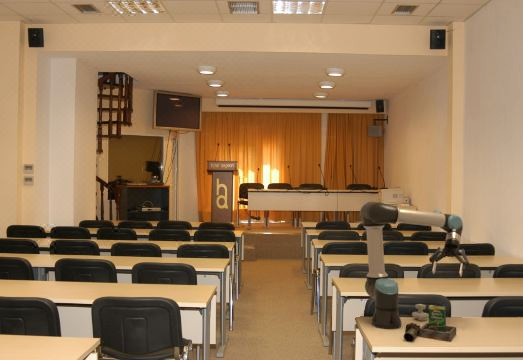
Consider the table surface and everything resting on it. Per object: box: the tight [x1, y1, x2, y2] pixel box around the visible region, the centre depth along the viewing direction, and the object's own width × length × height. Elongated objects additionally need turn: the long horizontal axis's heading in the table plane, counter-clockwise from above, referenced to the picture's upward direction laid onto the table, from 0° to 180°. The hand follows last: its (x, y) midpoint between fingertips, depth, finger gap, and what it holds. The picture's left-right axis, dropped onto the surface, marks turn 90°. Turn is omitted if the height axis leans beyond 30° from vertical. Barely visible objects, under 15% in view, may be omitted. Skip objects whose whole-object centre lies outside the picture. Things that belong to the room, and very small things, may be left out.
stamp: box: [411, 303, 429, 321], centre depth 274 cm, size 9×7×8 cm
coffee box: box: [428, 304, 447, 332], centre depth 244 cm, size 8×3×13 cm, turn 59°
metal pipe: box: [403, 322, 421, 343], centre depth 241 cm, size 18×7×6 cm, turn 150°
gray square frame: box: [418, 322, 457, 343], centre depth 244 cm, size 14×14×4 cm
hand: (446, 273), depth 261 cm, fingers open, 13 cm apart
